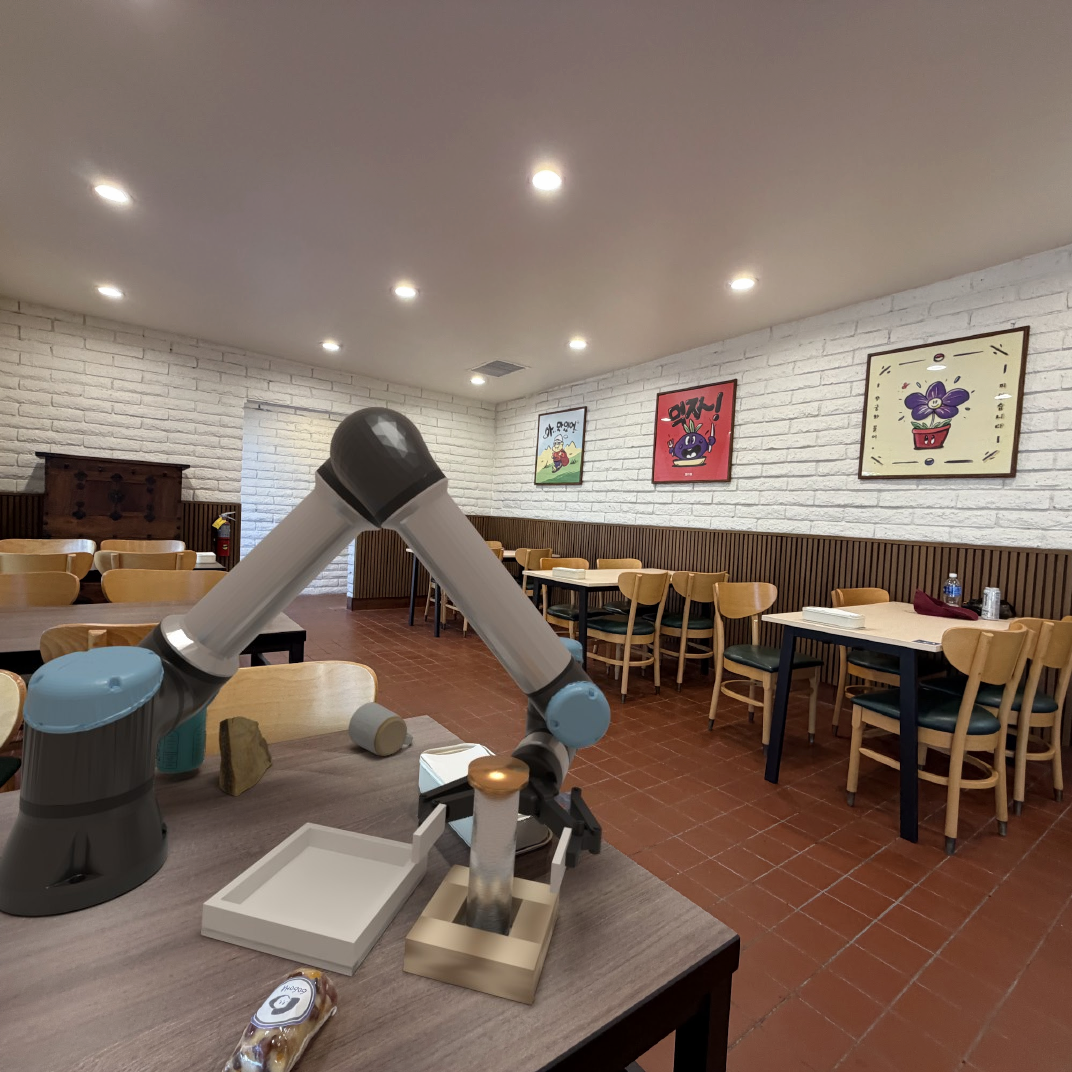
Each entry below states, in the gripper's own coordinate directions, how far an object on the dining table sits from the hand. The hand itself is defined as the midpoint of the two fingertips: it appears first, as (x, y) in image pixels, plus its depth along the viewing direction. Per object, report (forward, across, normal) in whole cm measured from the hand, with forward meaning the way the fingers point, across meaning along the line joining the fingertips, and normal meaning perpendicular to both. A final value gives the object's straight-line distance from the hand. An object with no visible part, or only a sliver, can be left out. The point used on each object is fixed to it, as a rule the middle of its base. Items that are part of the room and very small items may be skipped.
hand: (483, 863), depth 52 cm
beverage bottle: (-21, +55, -10) cm, 60 cm away
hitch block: (-3, 0, -10) cm, 10 cm away
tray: (-3, +18, -10) cm, 21 cm away
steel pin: (-3, 0, -10) cm, 10 cm away
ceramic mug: (-42, +32, -10) cm, 54 cm away
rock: (-24, +45, -10) cm, 52 cm away
